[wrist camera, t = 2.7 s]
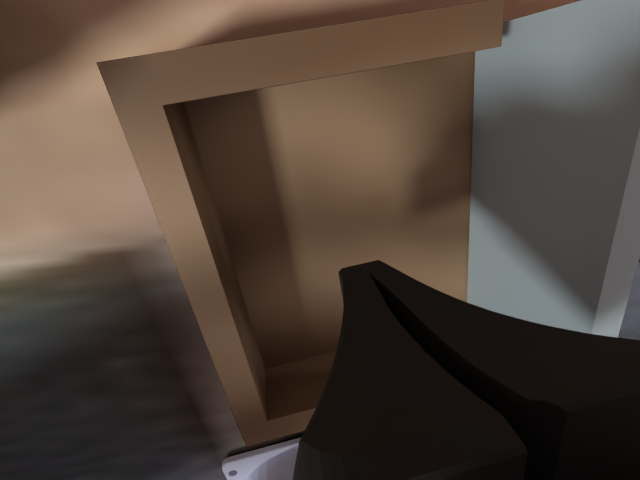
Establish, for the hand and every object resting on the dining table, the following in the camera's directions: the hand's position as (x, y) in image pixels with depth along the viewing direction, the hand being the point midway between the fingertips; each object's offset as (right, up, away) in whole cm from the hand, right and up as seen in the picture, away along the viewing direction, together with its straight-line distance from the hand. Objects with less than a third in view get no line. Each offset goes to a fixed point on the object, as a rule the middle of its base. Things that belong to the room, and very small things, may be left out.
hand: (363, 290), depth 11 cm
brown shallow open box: (0, +2, +5) cm, 5 cm away
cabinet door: (+6, +3, +5) cm, 9 cm away
